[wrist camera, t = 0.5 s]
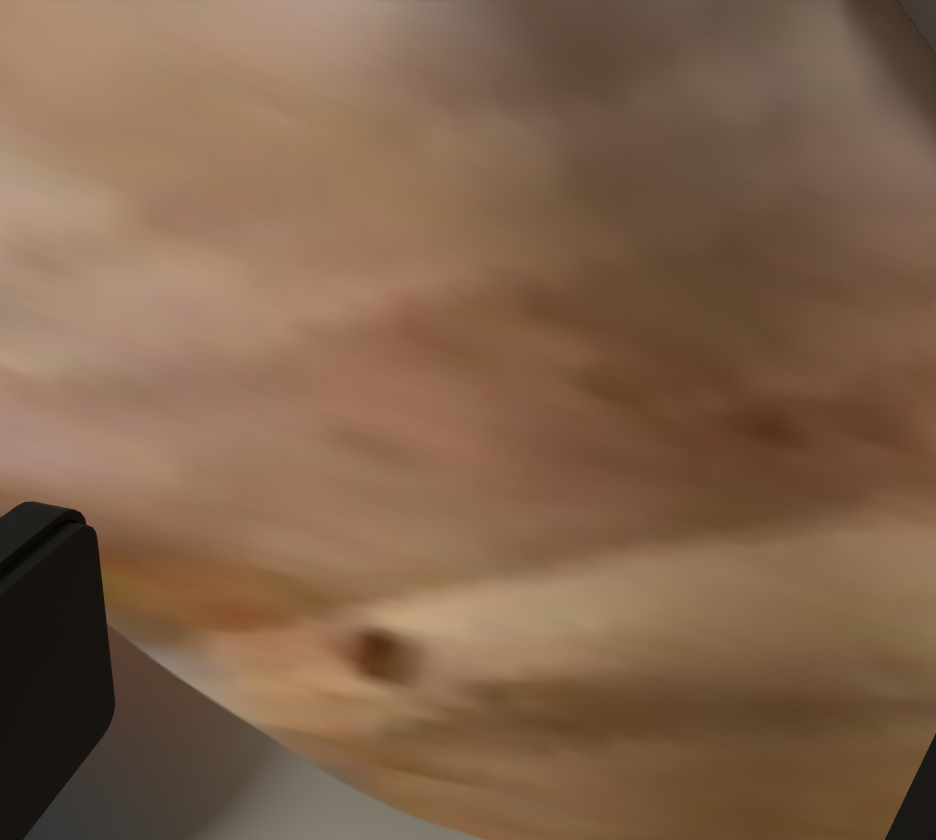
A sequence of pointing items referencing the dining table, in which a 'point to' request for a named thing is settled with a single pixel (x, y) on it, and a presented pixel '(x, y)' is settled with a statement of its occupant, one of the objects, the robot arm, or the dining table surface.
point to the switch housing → (922, 18)
